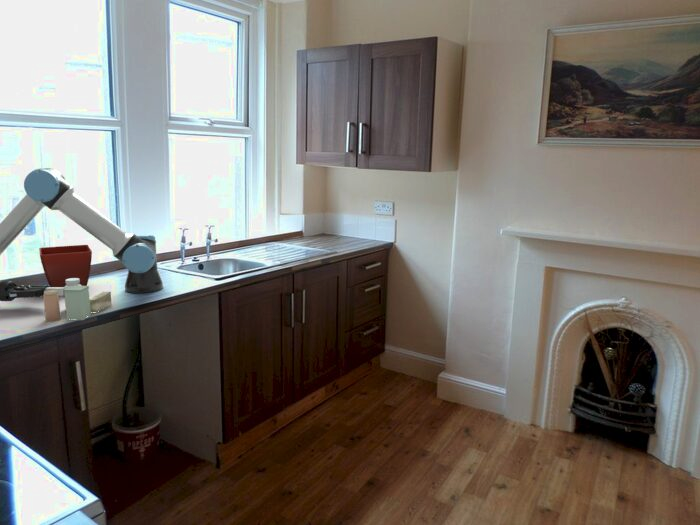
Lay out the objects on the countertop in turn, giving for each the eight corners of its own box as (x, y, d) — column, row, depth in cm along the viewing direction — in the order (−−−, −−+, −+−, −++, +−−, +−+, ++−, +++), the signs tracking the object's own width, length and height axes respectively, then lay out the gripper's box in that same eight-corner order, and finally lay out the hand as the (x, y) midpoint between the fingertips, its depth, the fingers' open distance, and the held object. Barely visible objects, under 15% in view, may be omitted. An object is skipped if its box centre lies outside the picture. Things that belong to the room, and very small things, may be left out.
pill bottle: (86, 308, 206) (84, 279, 204) (69, 311, 202) (67, 282, 200) (80, 305, 210) (77, 276, 208) (63, 308, 206) (60, 279, 204)
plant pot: (95, 290, 234) (92, 250, 231) (44, 295, 225) (39, 254, 221) (91, 281, 250) (87, 244, 247) (43, 285, 241) (38, 247, 238)
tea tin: (66, 320, 192) (63, 289, 190) (75, 315, 198) (72, 285, 196) (83, 320, 192) (80, 290, 190) (91, 315, 198) (88, 286, 196)
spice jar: (60, 316, 196) (57, 288, 194) (61, 320, 192) (58, 291, 190) (45, 318, 194) (42, 290, 192) (45, 322, 190) (42, 293, 188)
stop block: (88, 313, 200) (87, 299, 199) (103, 304, 212) (102, 291, 211) (97, 313, 200) (95, 299, 199) (111, 304, 212) (110, 291, 211)
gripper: (13, 296, 212) (74, 296, 212) (-9, 305, 200) (55, 306, 199) (11, 277, 211) (72, 277, 210) (-12, 285, 198) (53, 285, 198)
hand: (64, 291), depth 205 cm, fingers closed
